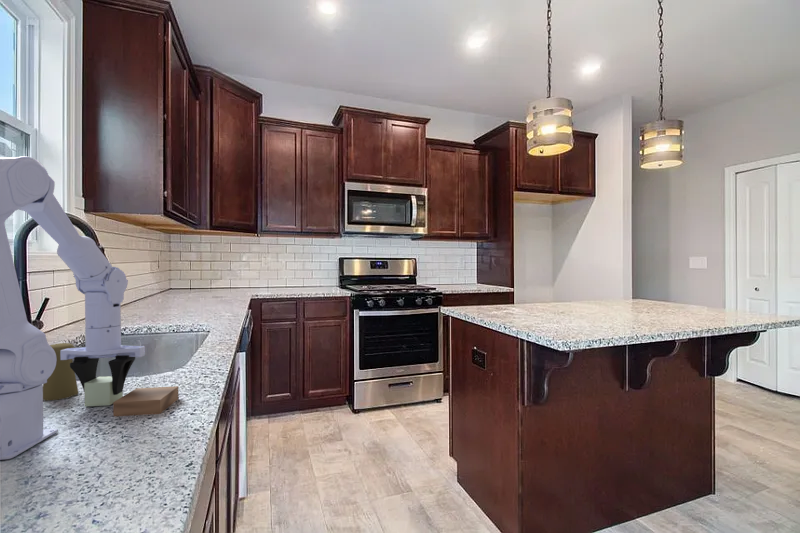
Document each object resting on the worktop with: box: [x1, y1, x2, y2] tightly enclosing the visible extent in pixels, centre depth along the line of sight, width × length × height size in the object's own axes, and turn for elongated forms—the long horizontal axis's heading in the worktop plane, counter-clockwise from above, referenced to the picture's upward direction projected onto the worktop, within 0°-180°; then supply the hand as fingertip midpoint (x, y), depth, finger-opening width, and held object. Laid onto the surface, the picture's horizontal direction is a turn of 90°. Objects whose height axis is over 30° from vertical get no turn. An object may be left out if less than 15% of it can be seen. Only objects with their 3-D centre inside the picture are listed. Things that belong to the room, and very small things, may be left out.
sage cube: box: [83, 375, 124, 407], centre depth 79 cm, size 4×4×4 cm
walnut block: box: [112, 385, 179, 417], centre depth 76 cm, size 8×8×3 cm
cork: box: [43, 342, 79, 402], centre depth 83 cm, size 6×6×11 cm
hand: (104, 393), depth 79 cm, fingers closed on sage cube, 4 cm apart
